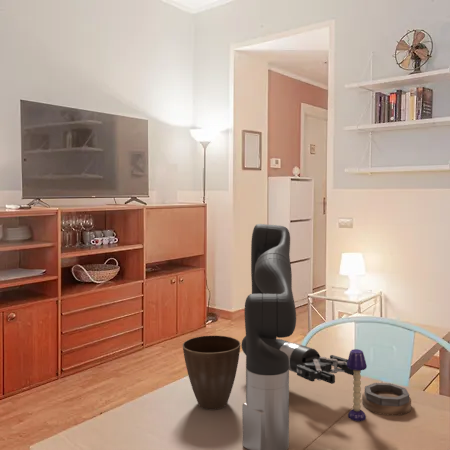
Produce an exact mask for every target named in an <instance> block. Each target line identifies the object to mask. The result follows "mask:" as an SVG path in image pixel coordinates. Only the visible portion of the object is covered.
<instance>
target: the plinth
mask: <svg viewBox="0 0 450 450" xmlns="http://www.w3.org/2000/svg"><path fill="white" fill-rule="evenodd" d="M361 403H362V406H363V407H364V408H365V409H366V410H368V411H370V412H372V413H375V414H379V415H383V416H403V415H407V414H408V413H409V412H411V410H412V399H411V397H410V394H409V392H408V390H407V388H406V387H403V386H399V385H397V384H394V383H390V382H389V383H387V382H386V383H385V382H373V383H370V384H368V385H365V386H364V392H363V393H362V394H361Z"/></svg>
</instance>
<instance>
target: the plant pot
mask: <svg viewBox="0 0 450 450" xmlns="http://www.w3.org/2000/svg"><path fill="white" fill-rule="evenodd" d="M241 344H242V342H240V341H239V340H238V338H235V337H230V336H224V335H203V336H202V335H201V336H196V337H192V338H189V339H187V340H185V341H184V342H183V343H182V351H183V357H184V362H185V367H186V371H187V375H188V379H189V381H190V386H191V388H192V391H193V394H194V396H195V400H196V401H197V404H198V406H199V407H200V408H202V409H205V410H214V411H215V410H219V409H223V408H225V407H226V406H227V405H228V402H229V399H230V397H231V394H232V390H233V387H234V382H235V381H236V375H237V372H238V371H237V370H238V365H239V360H240V353H241Z"/></svg>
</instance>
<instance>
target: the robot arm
mask: <svg viewBox="0 0 450 450" xmlns="http://www.w3.org/2000/svg"><path fill="white" fill-rule="evenodd" d="M250 242H251V244H250V246H251V247H250V255H251V256H250V273H251V274H250V275H251V293H250V294H249V295H247V297H246V299H245V300H244V301H245V303H244V329H245V331H244V332H245V336H244V337H243V338H242V339H241V345H240V347H241V349H242V352H243V353H244V355H245V358H246V359H245V402H243V403H242V405H241V406H242V416H241V417H242V447H244V448H246V449H247V450H289V447H290V446H289V445H290V415H289V414H290V411H289V410H290V371H291V372H293V373H295V374H296V376H297V377H300V378H303V379H305V380H306V381H309V382H315V381H323V382H326V383H328V384H332V385H333V384H335V383H336V376H335V374H337V373H338V372H339V373H345V374H348V375H351V376H353V375H354V372H353V370H351V369H349V368H348V367H347V362H348V358H343V357H340V356H337V355H334V354H330V355H329V357H325V356H321V355H320V353H319V352H318V351H317V350H316V349H315V348H312V347H309V346H306V345H304V344H300V343H297V342H296V343H295V342H291V341H287V340H285V338H288V337H290V336H292V335H293V334H294V332H295V329H296V326H297V310H296V304H295V299H294V293H293V286H292V285H293V284H292V283H293V281H292V279H293V278H292V265H291V258H290V253H291V251H290V250H291V234H290V231H289V229H288V228H287V227H286V226H284V225H277V224H266V223H257V224H255V225H254V227H253V230H252V234H251V241H250ZM282 338H283V339H282ZM332 367H333V368H332Z"/></svg>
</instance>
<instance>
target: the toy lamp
mask: <svg viewBox="0 0 450 450" xmlns="http://www.w3.org/2000/svg"><path fill="white" fill-rule="evenodd" d="M347 359H348V362H347V367H348V368H349V369H351V370H353V372H354V375H352V376H353V381H352V383H353V386H352V388H353V389H352V391H353V394H352V397H353V400H352V402H353V403H352V404H353V406H352V409H351V410H349V412H348V414H347V417H348V419H349V420H351V421H353V422H363V421H365V420H366V419H367V415H366V414H365V412H364V410H362V409H361V403H362V399H361V398H362V394H361V391H362V387H361V384H362V381H361V379H362V375H361V371H365V370H366V369H367V366H368V365H367V362H366V358H365V354H364V351H363V350H361V349H358V348H357V349H356V348H354V349H351V350H350V352H349V355H348V358H347Z"/></svg>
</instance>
